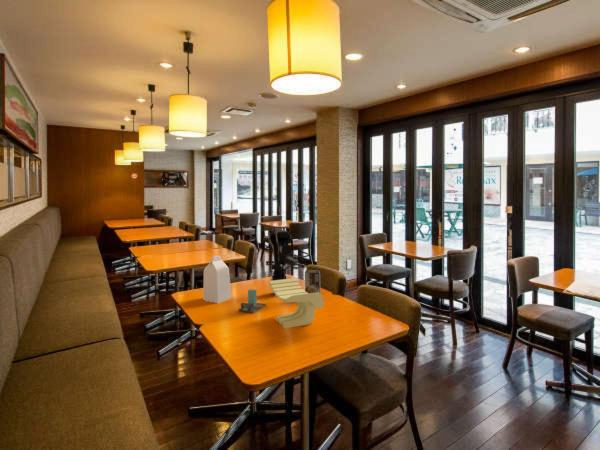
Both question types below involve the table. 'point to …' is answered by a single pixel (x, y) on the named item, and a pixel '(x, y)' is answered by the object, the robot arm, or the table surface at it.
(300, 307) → the slatted curved stool
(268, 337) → the table surface
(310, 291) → the coffee box
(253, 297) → the teal block
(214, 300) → the milk
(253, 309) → the bracket
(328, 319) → the table surface
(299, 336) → the table surface
